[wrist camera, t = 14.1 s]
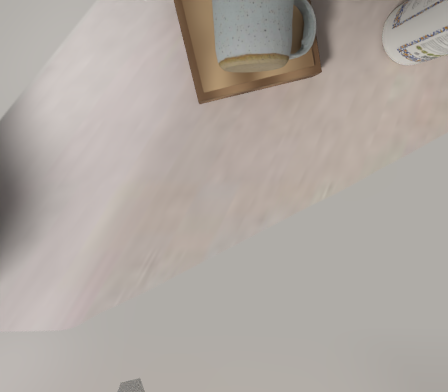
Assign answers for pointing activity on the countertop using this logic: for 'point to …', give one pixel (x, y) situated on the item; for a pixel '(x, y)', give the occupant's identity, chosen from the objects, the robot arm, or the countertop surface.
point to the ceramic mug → (259, 33)
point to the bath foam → (417, 31)
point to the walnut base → (235, 81)
